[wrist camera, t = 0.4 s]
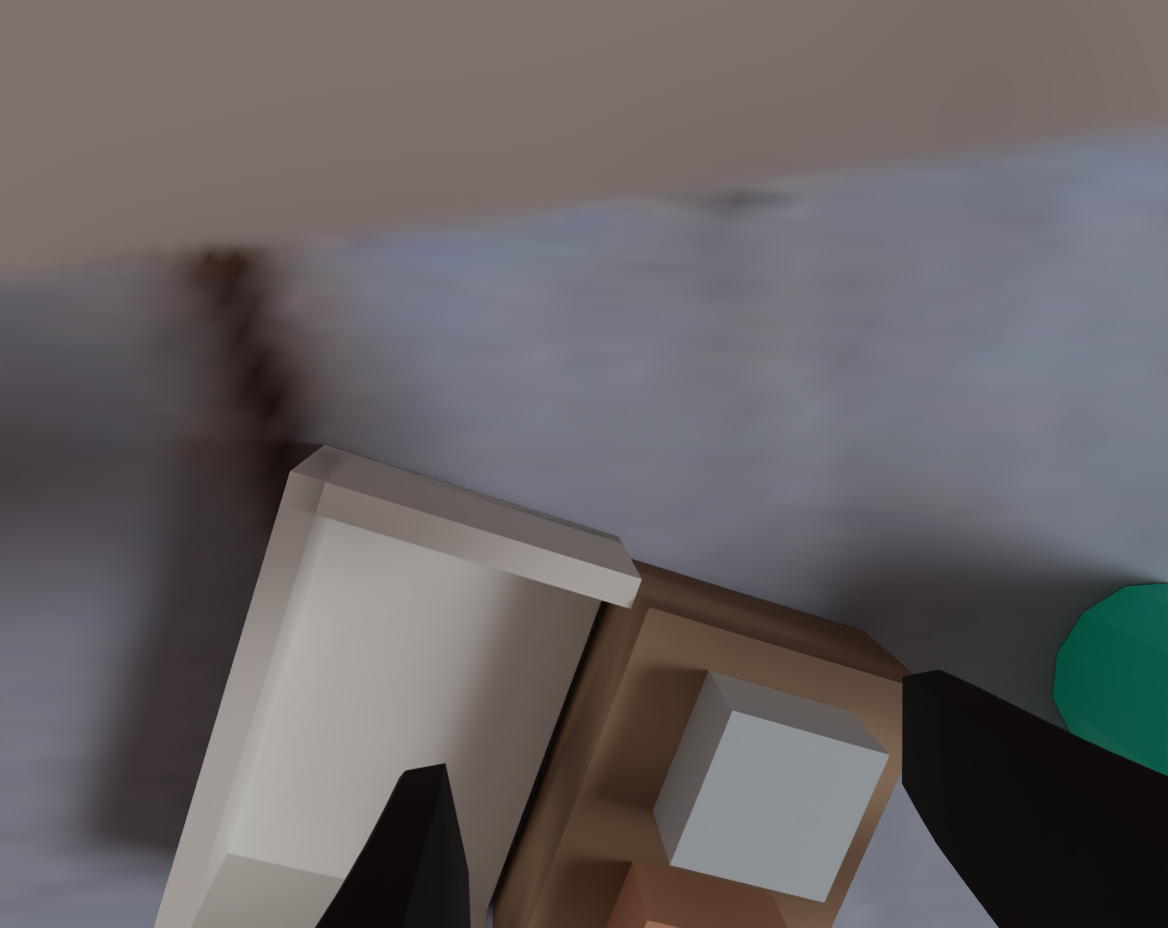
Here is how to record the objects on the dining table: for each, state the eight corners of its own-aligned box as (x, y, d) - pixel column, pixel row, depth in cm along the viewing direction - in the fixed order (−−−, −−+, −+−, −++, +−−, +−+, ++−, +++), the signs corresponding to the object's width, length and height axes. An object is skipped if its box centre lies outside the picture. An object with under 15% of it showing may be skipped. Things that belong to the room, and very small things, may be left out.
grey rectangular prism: (792, 846, 20) (824, 902, 19) (652, 810, 20) (669, 865, 18) (851, 711, 20) (889, 755, 18) (708, 670, 19) (732, 710, 17)
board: (724, 958, 26) (765, 1074, 22) (493, 906, 24) (492, 1020, 20) (864, 631, 24) (935, 693, 20) (623, 556, 23) (649, 607, 19)
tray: (478, 918, 24) (475, 1020, 21) (199, 856, 23) (145, 954, 19) (619, 537, 23) (641, 579, 19) (324, 444, 21) (290, 471, 18)
